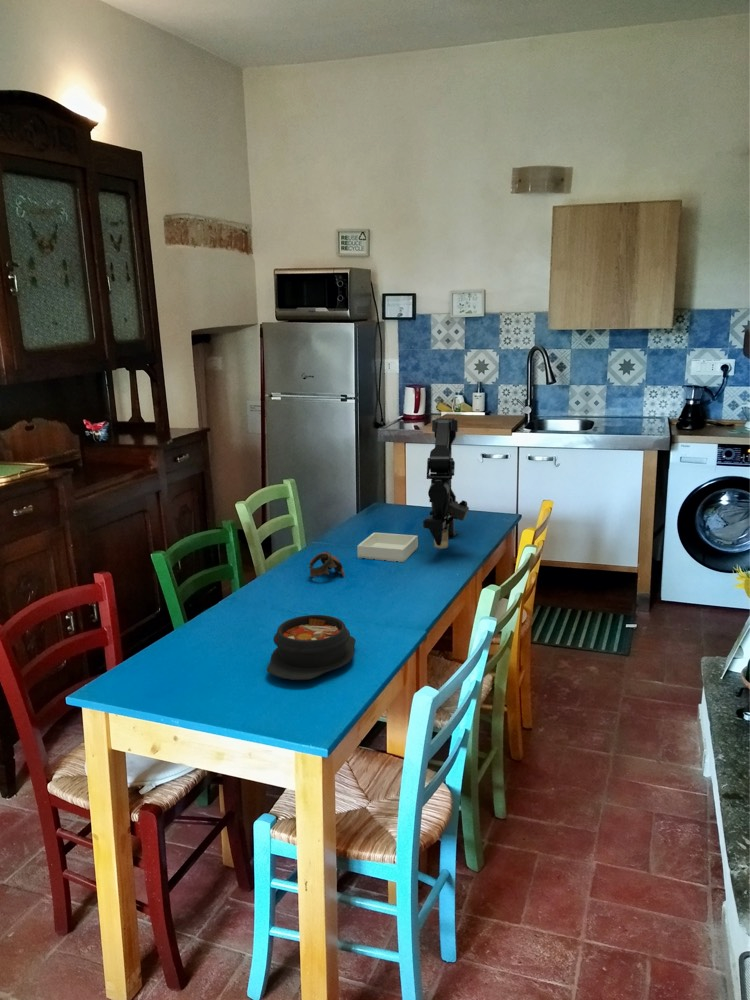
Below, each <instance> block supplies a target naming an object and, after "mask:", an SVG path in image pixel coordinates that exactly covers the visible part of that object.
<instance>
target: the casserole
mask: <svg viewBox="0 0 750 1000" xmlns="http://www.w3.org/2000/svg"><path fill="white" fill-rule="evenodd" d="M272 638H273V643H274V645H275V646H276V648H275V649H274V650H273V652H272V653H271V655H270V661H269V664H268V666H267V667H266V672H267V673H268V674H269V675H272V676H274V677H276V678H279V679H285V680H289V681H290V680H291V681H310V680H312V679H315V678H318V677H320V676H321V675H323V674H326V673H328V672H332V671H334V670H336V669H339V668H341V667H343V666H345V665H347V664H348V663H350V662H351V661H352V659H353V658H354V656H355V645H356V639H355V637H353V636H351V632H350V630H349V629H348V628H347V627H346V624H345V623H344V621H343V620H341V619H339V618H337V617H335V616H332V615H331V616H330V615H324V614H307V615H306V614H305V615H301V616H297V617H292V618H290V619H287V620H285V621H283V622H282V623H281V624H280V625H278V627H277V630H276V633H275V634H274V636H273V637H272Z"/></svg>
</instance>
